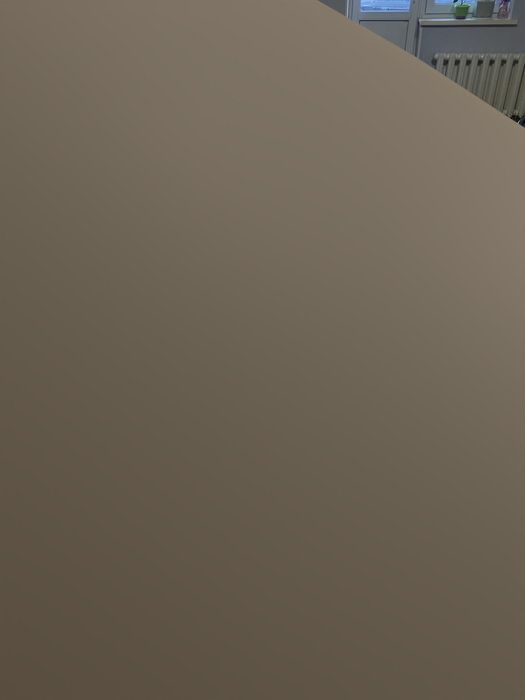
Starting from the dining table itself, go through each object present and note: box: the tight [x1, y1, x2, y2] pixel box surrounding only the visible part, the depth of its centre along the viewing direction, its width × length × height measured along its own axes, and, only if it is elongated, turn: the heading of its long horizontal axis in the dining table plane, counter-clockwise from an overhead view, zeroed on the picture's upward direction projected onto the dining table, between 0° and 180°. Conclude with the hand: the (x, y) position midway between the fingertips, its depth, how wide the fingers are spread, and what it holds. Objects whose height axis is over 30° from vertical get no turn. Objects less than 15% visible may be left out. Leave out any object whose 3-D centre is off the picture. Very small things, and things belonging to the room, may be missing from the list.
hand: (327, 376), depth 47 cm, fingers open, 13 cm apart
